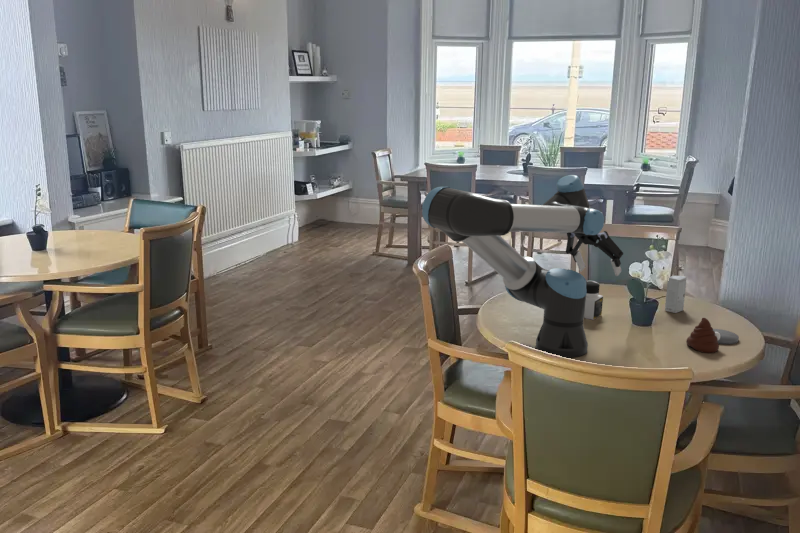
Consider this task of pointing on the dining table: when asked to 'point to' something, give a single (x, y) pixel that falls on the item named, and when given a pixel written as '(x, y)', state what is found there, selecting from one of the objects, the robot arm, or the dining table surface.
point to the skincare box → (675, 294)
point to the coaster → (727, 337)
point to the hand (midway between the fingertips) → (600, 271)
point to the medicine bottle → (593, 301)
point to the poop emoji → (704, 338)
